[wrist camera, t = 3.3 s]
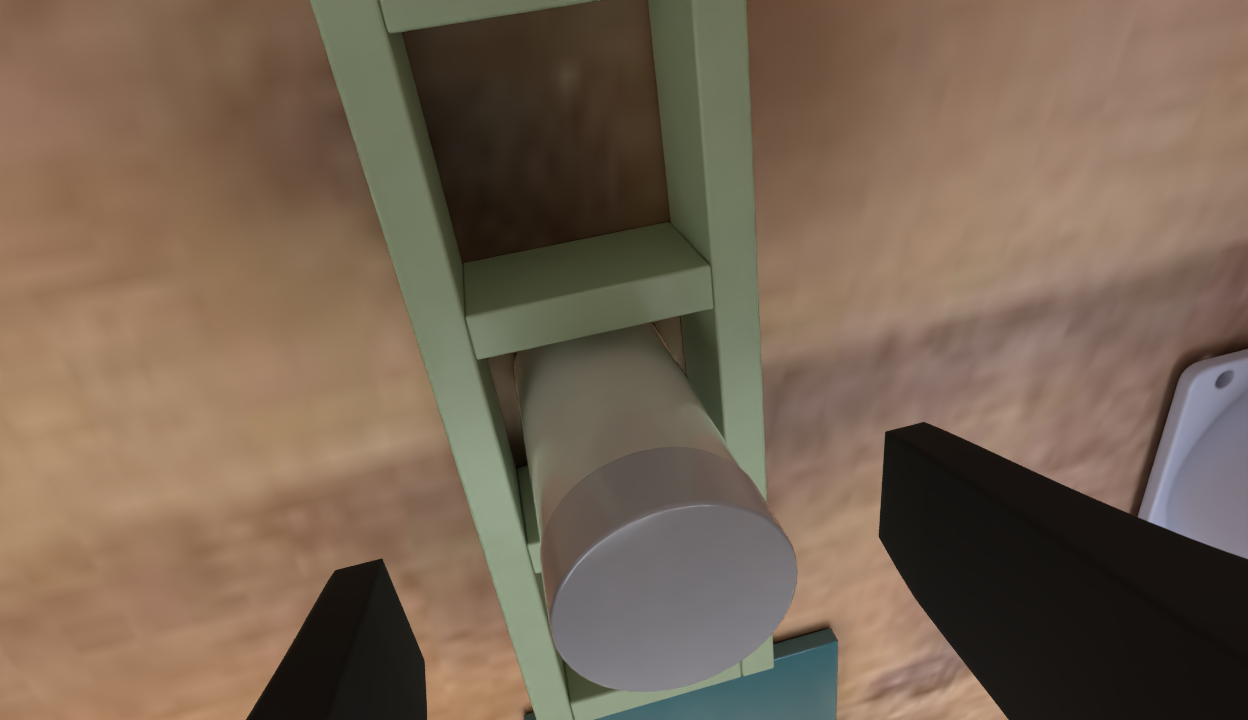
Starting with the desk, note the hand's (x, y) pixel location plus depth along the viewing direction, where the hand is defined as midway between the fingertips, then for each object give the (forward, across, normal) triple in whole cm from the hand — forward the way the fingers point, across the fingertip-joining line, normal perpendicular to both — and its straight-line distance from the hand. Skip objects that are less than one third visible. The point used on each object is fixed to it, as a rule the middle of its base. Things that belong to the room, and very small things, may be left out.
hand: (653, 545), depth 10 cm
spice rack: (+5, 0, 0) cm, 5 cm away
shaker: (+5, 0, 0) cm, 5 cm away
